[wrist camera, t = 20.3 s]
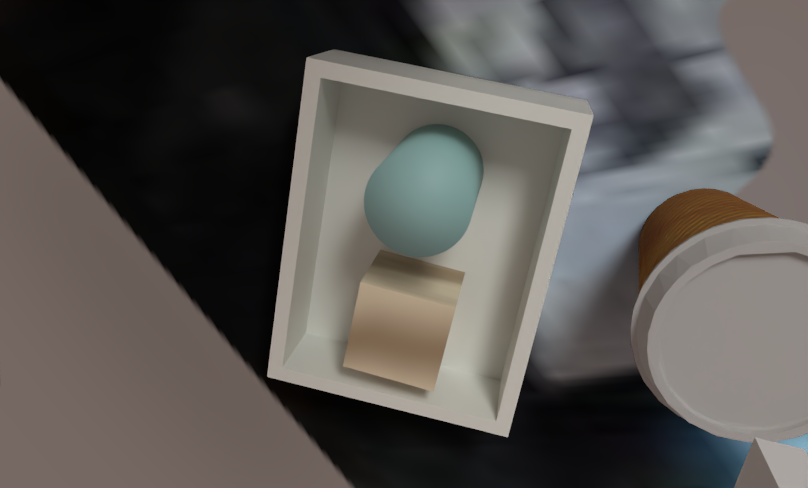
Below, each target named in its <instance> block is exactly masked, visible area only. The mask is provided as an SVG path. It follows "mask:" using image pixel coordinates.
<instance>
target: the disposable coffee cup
mask: <svg viewBox="0 0 808 488" xmlns="http://www.w3.org/2000/svg"><path fill="white" fill-rule="evenodd" d="M630 338H631V347H632V351H633V356H634V360H635V364H636V366H637V368H638V370H639V372H640V375H641V377H642V379H643V381H644V382H645V384H646V385H647V386H648V387H649V389H650V390H651V391H652V392H653V394H654V395H655V396H656V397H657V399H658V400H659V401H660V402H661V403H662V404H664V405H665V406H666V407H668V408H669V409H670V410H671V411H673V412H674V413H675V414H676V415H678V416H680V417H682V418H684V419H685V420H686V421H688V422H689V423H691V424H693V425H695V426H697V427H699V428H702V429H704V430H706V431H708V432H710V433H712V434H714V435H716V436H720V437H725V438H730V439H735V440H740V441H745V442H753V440H754V438H755V437H756V438H760V439H764V440H768V441H772V442H776V441H781V440H786V439H791V438H797V437H800V436H802V435H805V434H807V433H808V224H805V223H802V222H798V221H795V220H790V219H781V218H778V217H776V216H774V215H771V214H769V213H768V212H765V211H764V210H762V209H760V208H757V207H756V206H754V205H752V204H749V203H747V202H745V201H743V200H741V199H740V198H738V197H736V196H734V195H732V194H730V193H728V192H724V191H720V190H716V189H695V190H689V191H686V192H683V193H680V194H677V195H675V196H673V197H671V198H669V199H667V200H666V201H665V202H663V203H662V204H661V205H660V206H658V207H657V208H656V209H655V210H654V211H653V213H652V214H651V215H650V216H649V217H648V219H647V221H646V222H645V224H644V226H643V229H642V231H641V234H640V239H639V295H638V298H637V300H636V302H635V305H634V307H633V313H632V321H631V332H630Z"/></svg>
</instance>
